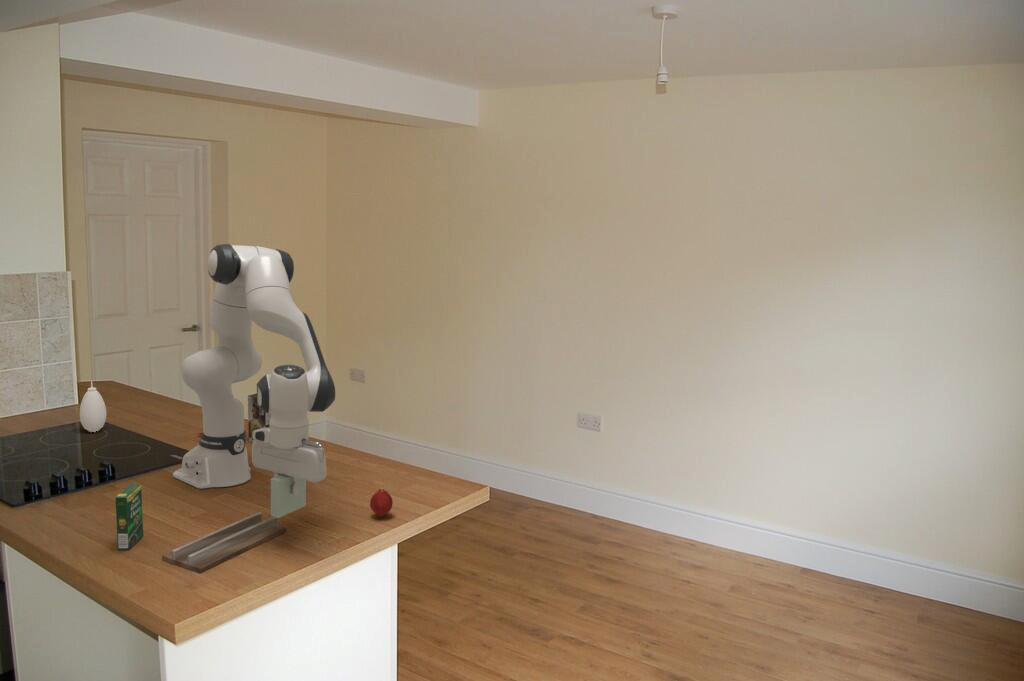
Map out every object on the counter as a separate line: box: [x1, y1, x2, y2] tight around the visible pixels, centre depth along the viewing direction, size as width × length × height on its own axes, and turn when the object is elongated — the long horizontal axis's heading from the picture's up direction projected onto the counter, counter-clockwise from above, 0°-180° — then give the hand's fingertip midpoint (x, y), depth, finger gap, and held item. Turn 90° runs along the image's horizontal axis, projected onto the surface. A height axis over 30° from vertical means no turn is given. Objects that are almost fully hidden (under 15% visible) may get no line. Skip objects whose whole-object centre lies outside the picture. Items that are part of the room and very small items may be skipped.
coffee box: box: [247, 392, 271, 443], centre depth 255 cm, size 9×6×16 cm
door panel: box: [270, 474, 307, 519], centre depth 179 cm, size 2×9×9 cm, turn 154°
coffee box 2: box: [114, 483, 144, 551], centre depth 175 cm, size 8×3×13 cm, turn 3°
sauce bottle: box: [79, 379, 107, 433], centre depth 257 cm, size 8×8×18 cm
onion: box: [369, 487, 393, 518], centre depth 197 cm, size 6×6×8 cm
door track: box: [161, 511, 287, 574], centre depth 177 cm, size 12×26×3 cm, turn 154°
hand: (288, 491), depth 179 cm, fingers closed on door panel, 2 cm apart
